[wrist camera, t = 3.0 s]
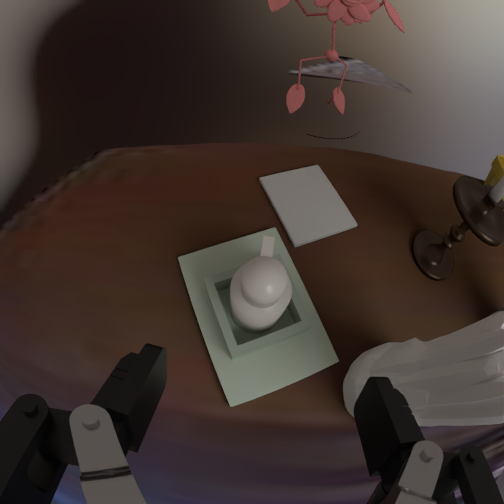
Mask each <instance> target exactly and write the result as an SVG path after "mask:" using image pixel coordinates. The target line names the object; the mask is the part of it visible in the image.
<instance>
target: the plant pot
mask: <svg viewBox="0 0 504 504" xmlns="http://www.w3.org/2000/svg"><path fill="white" fill-rule="evenodd" d="M503 176H504V156H502V155H497V157H496V158H495V159H494V161H493V162H492V168H491V170H490V172H489V174H488V176H487V179H486V180H485V182H484V186H485V185H486V184H490V185H492V186H493V187H495V185H496V184H497V183H498V182H499V181H500V180H501V179H502V177H503ZM502 199H503V201H504V197H503V198H502Z"/></svg>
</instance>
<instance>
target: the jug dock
mask: <svg viewBox="0 0 504 504" xmlns="http://www.w3.org/2000/svg"><path fill="white" fill-rule="evenodd" d="M263 236H269V237H275V240H274V248H273V256H272V258H275V259H277V260H278V261H279V262H281V263H282V264H283V266H284V267H285V269H286V272H287V275H288V277H289V279H290V281H291V285H292V296H291V299H290V302H289V304H288V306H287V307H286V309H285V310H284V312H283V313H282V315H281V317H280V318H279V320H278V321H277V323H276V324H275V325H274V327H273V328H271V329H270V330H268V331H266V332H264V333H260V334H252V333H248V332H245V331H243V330H242V329H240V328H239V327H238V326H237V325H236V324H235V322H234V321H233V319H232V316H231V300H230V286H231V281H232V278H233V276H234V274H235V273H236V271H237V270H238V269H239V268H240V267H242V266H243V265H245V264H246V263H247V262H249V261H250V260H251V259H253V258H255V257H258V256H260V250H261V245H262V240H263ZM178 260H179V263H180V267H181V270H182V273H183V277H184V280H185V283H186V286H187V289H188V293H189V296H190V299H191V302H192V305H193V308H194V311H195V314H196V317H197V320H198V323H199V326H200V329H201V331H202V334H203V337H204V340H205V343H206V346H207V348H208V351H209V354H210V356H211V359H212V362H213V364H214V367H215V370H216V372H217V375H218V378H219V380H220V383H221V385H222V388H223V390H224V393H225V395H226V398H227V400H228V403H229V405H230V407H233V406H236V405H238V404H241V403H244V402H247V401H250V400H252V399H255V398H258V397H260V396H263V395H265V394H268V393H270V392H273V391H275V390H278V389H280V388H283V387H285V386H287V385H290V384H292V383H294V382H297V381H299V380H301V379H303V378H306V377H308V376H310V375H312V374H314V373H316V372H319V371H321V370H323V369H325V368H327V367H329V366H331V365H333V364H335V363H337V362H339V360H338V357H337V355H336V353H335V351H334V349H333V346H332V344H331V342H330V340H329V338H328V335H327V333H326V331H325V329H324V327H323V325H322V322H321V320H320V318H319V316H318V314H317V312H316V310H315V307H314V305H313V303H312V301H311V299H310V297H309V295H308V293H307V291H306V288H305V286H304V284H303V282H302V280H301V278H300V276H299V274H298V272H297V270H296V268H295V266H294V264H293V262H292V260H291V258H290V256H289V254H288V251H287V249H286V247H285V245H284V243H283V241H282V239H281V237H280V235H279V233H278V231H277V229H276V227H274V228H271V229H268V230H264V231H261V232H258V233H254V234H251V235H248V236H245V237H241V238H238V239H235V240H231V241H228V242H225V243H222V244H219V245H215V246H212V247H209V248H206V249H202V250H199V251H196V252H193V253H190V254H187V255H183V256H180V257H178Z"/></svg>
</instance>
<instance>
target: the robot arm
mask: <svg viewBox="0 0 504 504" xmlns="http://www.w3.org/2000/svg"><path fill="white" fill-rule="evenodd" d="M500 311H504V308H502V309H500V310H498V311H496V312H495V313H497V312H500ZM495 313H493V314H495ZM493 314H491V315H493ZM166 378H167V373H166V349H165V348H164V347H160V346H156V345H152V344H148V343H147V344H145V345H144V347H143V348H142V350H141V352H140V353H139V354H136V353H132V352H131V353H129V354H128V355H126V356H125V357H123V358H121V360H120V361H119V363H118V364H117V365H116V367H115V369H114V370H113V371H112V373H111V374H110V376H109V377H108V379H107V380H106V382H105V383H104V384H103V386H102V387H101V389H100V390H99V392H98V393H97V395H96V396H95V398H94V399H93V401H92V402H91V404H88V405H82V406H79V407H77V408H76V409H75V410H74V411H65V410H59V409H54V408H49V407H48V405H47V403H46V401H45V400H44V399H43V398H42V397H40V396H38V395H35V394H25V395H22V396H20V397H19V398H18V399H17V400H16V401H15V402H14V403H13V405H12V406H11V407H10V409H9V410H8V411H7V413H6V414H5V416H4V417H3V418H2V420H1V421H0V504H51V501H52V499H53V497H54V494H55V492H56V490H57V487H58V485H59V483H60V481H61V478H62V476H63V474H64V472H65V470H66V467H67V465H68V464H71V465H76V466H80V469H81V474H82V476H80V481H81V485H82V489H83V492H84V495H85V498H86V501H87V503H88V504H146V502H145V500H144V498H143V496H142V494H141V492H140V490H139V488H138V486H137V484H136V481H135V479H134V477H133V475H132V473H131V470H130V468H129V466H128V464H127V461H126V459H125V457H126V455H127V452H128V450H130V451H133V452H136V453H138V450H139V448H140V445H141V443H142V441H143V438H144V436H145V433H146V431H147V429H148V426H149V424H150V422H151V419H152V417H153V415H154V412H155V410H156V408H157V405H158V403H159V401H160V398H161V396H162V394H163V391H164V389H165V385H166ZM354 418H355V421H356V425H357V429H358V432H359V436H360V440H361V444H362V447H363V451H364V455H365V459H366V463H367V467H368V471H369V475H370V477H374V476H381V479H382V480H381V481H380V482H379V483H378V485H377V487H376V488H375V490H374V492H373V494H372V495H371V497H370V499H369V500H368V502H367V504H457V501H456V498H455V495H454V491H455V490H457V489H458V488H460V491H461V494H462V497H463V500H464V503H465V504H504V503H503V499H502V497H501V494H500V492H499V489H498V486H497V484H496V481H495V479H494V477H493V474H492V472H491V470H490V467H489V465H488V463H487V461H486V458H485V456H484V454H483V452H482V451H481V450H480V449H479V448H478V447H477V446H474V445H465V446H464V447H462V448H461V450H460V451H459V452H458V453H447V452H442V450H441V448H440V447H439V446H438V445H437V444H435V443H434V442H431V441H427V440H425V439H424V437H423V434H422V432H421V430H420V428H419V426H418V423H417V421H416V419H415V417H414V415H412V411H411V409H410V407H409V404H408V402H407V400H406V398H405V396H404V395H403V394H402V393H401V392H400V391H399V390H398V389H394V387H393V385H392V383H391V381H390V379H389V378H388V377H369V378H368V380H367V381H366V383H365V385H364V387H363V389H362V391H361V393H360V395H359V397H358V398H357V400H356V402H355V405H354Z"/></svg>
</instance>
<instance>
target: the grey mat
mask: <svg viewBox="0 0 504 504" xmlns="http://www.w3.org/2000/svg"><path fill="white" fill-rule="evenodd" d="M259 181H260V183H261V185H262V187H263V188H264V190H265V192H266V194H267V196H268V198H269V200H270V202H271V203H272V205H273V207H274V209H275V211H276V213H277V215H278V217H279V219H280V221H281V222H282V224H283V226H284V228H285V230H286V232H287V234H288V236H289V238H290V240H291V242H292V244H293V246H294V248H295V247H298V246H301V245H304V244H307V243H310V242H313V241H316V240H319V239H322V238H325V237H328V236H331V235H334V234H337V233H340V232H343V231H346V230H349V229H351V228H354V227H357V223H356V221H355V220H354V218H353V216H352V215H351V213H350V212H349V210H348V209H347V207H346V205H345V204H344V202H343V201H342V199H341V198H340V196H339V195H338V193H337V192H336V190H335V189H334V187H333V186H332V184H331V183H330V181H329V180H328V179H327V177H326V176H325V174H324V173H323V171H322V170H321V168H320V167H319V166H318V165H315V166H310V167H305V168H300V169H296V170H291V171H286V172H282V173H277V174H273V175H269V176H264V177H260V178H259Z"/></svg>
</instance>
